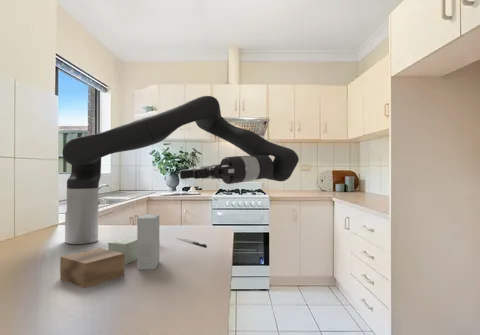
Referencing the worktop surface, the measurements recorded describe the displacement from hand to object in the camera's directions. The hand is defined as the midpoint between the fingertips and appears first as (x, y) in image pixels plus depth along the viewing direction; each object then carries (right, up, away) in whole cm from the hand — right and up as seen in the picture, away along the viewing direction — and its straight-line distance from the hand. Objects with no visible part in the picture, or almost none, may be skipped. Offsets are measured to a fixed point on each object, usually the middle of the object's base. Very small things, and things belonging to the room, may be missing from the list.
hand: (186, 174), depth 81 cm
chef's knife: (-2, -23, +21) cm, 31 cm away
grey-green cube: (-16, -22, -1) cm, 27 cm away
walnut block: (-18, -22, -14) cm, 31 cm away
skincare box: (-8, -22, -5) cm, 24 cm away
